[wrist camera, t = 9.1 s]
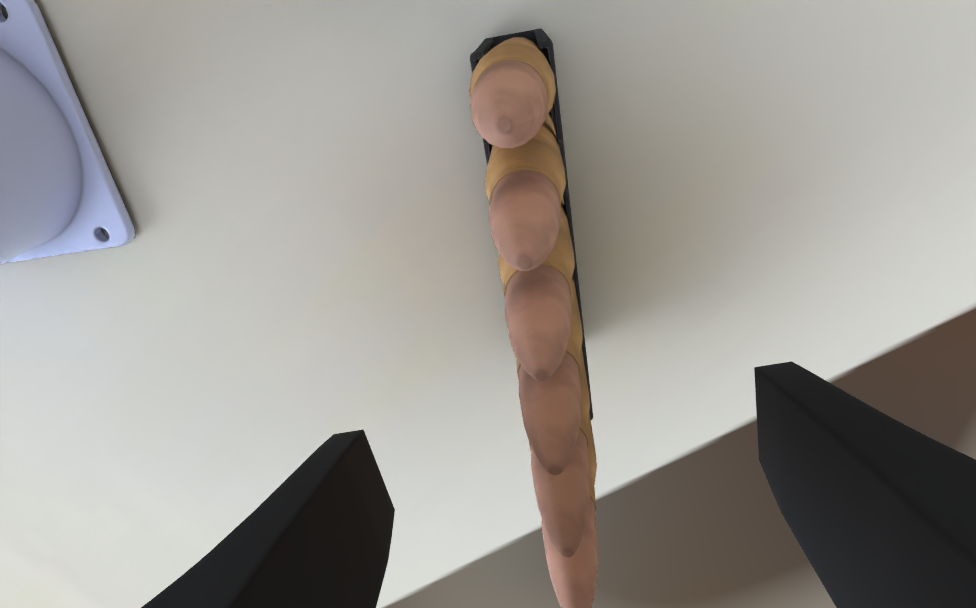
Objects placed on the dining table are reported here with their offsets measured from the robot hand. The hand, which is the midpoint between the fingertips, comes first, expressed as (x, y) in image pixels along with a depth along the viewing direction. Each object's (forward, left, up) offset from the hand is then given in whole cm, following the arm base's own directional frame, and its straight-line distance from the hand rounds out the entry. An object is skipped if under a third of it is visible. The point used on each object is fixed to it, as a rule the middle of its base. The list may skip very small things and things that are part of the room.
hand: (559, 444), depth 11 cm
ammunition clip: (0, +2, -11) cm, 11 cm away
